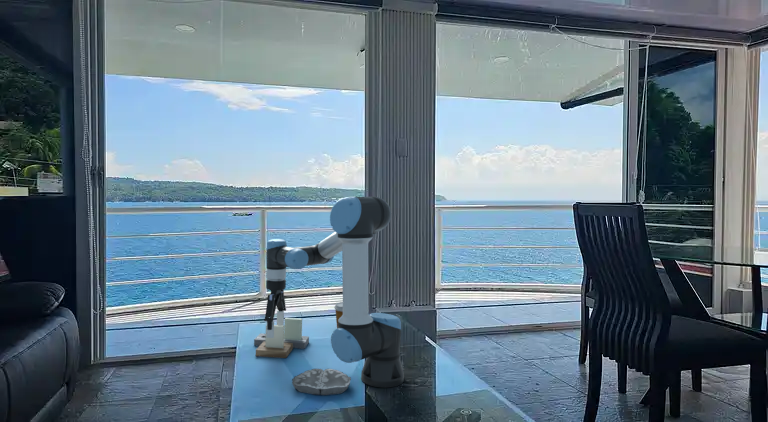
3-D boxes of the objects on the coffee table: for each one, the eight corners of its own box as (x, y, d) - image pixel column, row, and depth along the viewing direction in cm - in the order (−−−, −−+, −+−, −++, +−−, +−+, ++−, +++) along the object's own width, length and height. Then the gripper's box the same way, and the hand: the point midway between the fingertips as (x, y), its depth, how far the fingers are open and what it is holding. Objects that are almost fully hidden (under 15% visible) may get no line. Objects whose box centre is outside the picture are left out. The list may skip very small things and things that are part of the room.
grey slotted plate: (304, 348, 212) (304, 342, 212) (254, 345, 214) (254, 339, 214) (308, 342, 220) (309, 336, 220) (260, 339, 222) (260, 333, 222)
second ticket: (300, 345, 216) (301, 319, 215) (284, 344, 216) (284, 318, 215) (301, 344, 217) (302, 318, 216) (285, 343, 218) (285, 317, 217)
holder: (286, 358, 201) (286, 351, 201) (255, 356, 202) (255, 349, 202) (292, 349, 211) (292, 343, 211) (263, 347, 212) (263, 341, 212)
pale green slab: (282, 354, 206) (283, 326, 205) (265, 352, 206) (265, 325, 205) (283, 352, 207) (284, 325, 206) (266, 351, 208) (267, 324, 207)
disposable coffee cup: (353, 334, 233) (354, 307, 232) (332, 333, 234) (333, 306, 233) (355, 327, 243) (356, 302, 242) (334, 326, 243) (335, 301, 242)
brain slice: (351, 377, 186) (351, 369, 186) (349, 398, 169) (350, 389, 169) (296, 376, 186) (296, 367, 185) (288, 396, 169) (289, 387, 168)
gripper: (275, 272, 217) (275, 322, 219) (256, 285, 192) (255, 341, 194) (293, 273, 216) (292, 323, 218) (276, 286, 192) (275, 342, 193)
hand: (275, 332), depth 206 cm, fingers open, 13 cm apart
